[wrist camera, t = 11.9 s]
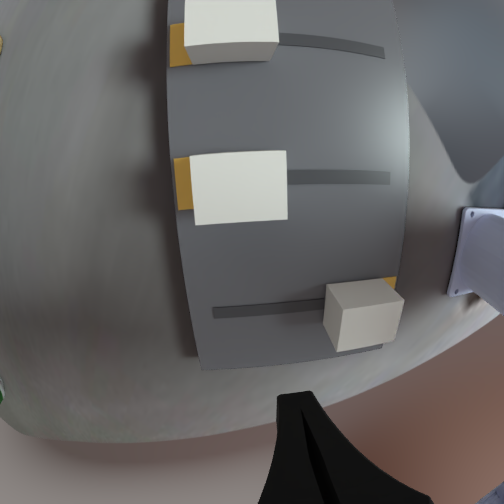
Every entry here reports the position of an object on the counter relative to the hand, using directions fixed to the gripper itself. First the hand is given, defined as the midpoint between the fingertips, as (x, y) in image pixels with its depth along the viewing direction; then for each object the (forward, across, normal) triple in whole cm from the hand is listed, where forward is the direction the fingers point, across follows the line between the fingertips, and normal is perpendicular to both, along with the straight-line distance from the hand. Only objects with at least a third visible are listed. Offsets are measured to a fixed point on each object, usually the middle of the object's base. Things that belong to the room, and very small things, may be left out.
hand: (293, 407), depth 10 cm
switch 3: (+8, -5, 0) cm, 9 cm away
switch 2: (+8, +1, -8) cm, 11 cm away
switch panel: (+9, -2, -8) cm, 13 cm away
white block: (+8, +2, -16) cm, 18 cm away
